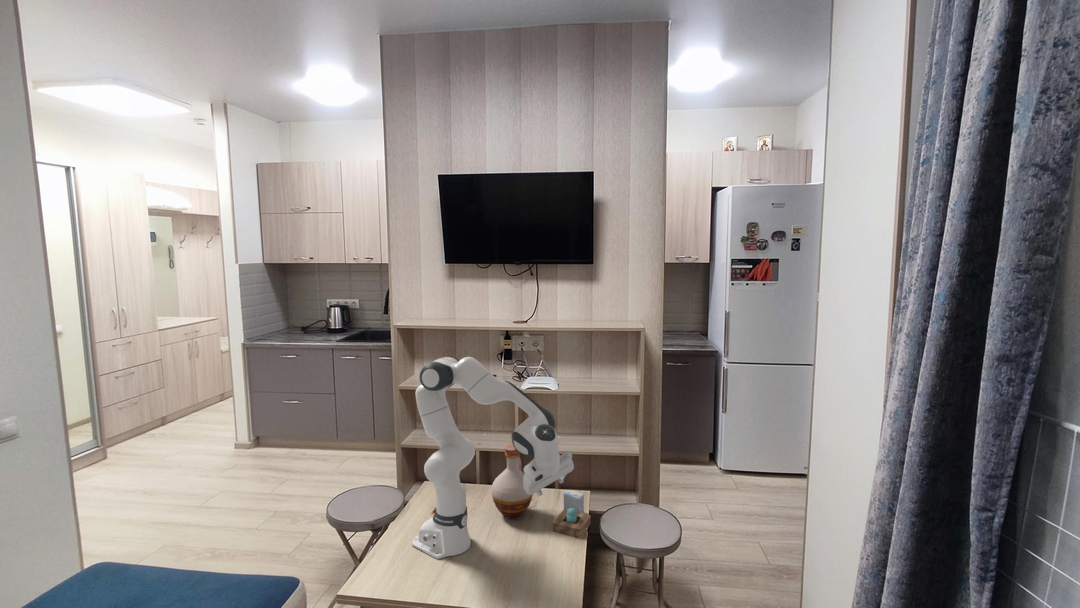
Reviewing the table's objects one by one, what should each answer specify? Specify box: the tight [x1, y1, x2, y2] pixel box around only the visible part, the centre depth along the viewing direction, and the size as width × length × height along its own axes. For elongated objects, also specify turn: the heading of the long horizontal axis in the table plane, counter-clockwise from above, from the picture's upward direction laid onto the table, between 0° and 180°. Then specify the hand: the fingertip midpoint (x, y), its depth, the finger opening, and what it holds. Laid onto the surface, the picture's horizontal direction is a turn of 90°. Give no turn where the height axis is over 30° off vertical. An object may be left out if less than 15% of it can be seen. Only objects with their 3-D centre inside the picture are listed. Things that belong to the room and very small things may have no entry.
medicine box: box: [563, 489, 585, 514], centre depth 203 cm, size 8×4×9 cm, turn 58°
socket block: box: [552, 508, 592, 539], centre depth 192 cm, size 12×12×4 cm
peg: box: [567, 508, 577, 524], centre depth 191 cm, size 4×4×8 cm
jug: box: [491, 443, 534, 520], centre depth 202 cm, size 20×18×30 cm
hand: (550, 488), depth 176 cm, fingers open, 8 cm apart
